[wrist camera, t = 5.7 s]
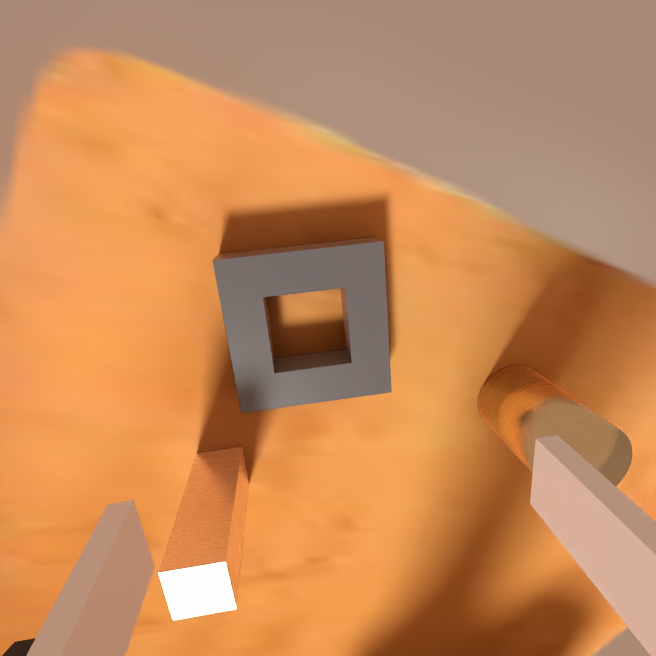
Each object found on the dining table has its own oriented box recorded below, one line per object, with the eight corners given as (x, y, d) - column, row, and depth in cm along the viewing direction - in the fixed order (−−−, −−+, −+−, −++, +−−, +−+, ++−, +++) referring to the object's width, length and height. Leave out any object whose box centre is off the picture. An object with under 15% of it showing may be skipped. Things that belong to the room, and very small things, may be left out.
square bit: (242, 446, 36) (225, 562, 25) (249, 483, 38) (236, 609, 26) (196, 453, 36) (158, 573, 25) (205, 490, 37) (172, 620, 26)
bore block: (374, 236, 32) (383, 241, 29) (382, 376, 36) (391, 392, 33) (218, 254, 31) (212, 260, 28) (244, 395, 35) (241, 413, 32)
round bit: (547, 360, 37) (638, 418, 28) (541, 422, 39) (625, 496, 30) (478, 370, 36) (547, 432, 27) (476, 432, 39) (540, 510, 29)
